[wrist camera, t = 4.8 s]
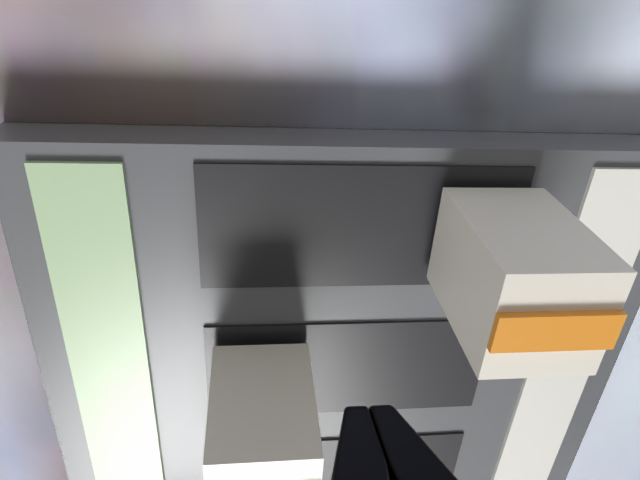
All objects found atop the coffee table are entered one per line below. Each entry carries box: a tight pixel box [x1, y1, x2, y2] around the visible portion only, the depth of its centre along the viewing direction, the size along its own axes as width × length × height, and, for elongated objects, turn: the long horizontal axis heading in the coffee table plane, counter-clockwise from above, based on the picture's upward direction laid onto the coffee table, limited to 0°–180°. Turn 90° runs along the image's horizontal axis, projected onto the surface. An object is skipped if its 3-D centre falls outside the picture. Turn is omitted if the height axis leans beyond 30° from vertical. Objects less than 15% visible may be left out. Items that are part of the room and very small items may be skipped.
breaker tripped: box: [427, 187, 638, 380], centre depth 14 cm, size 3×3×5 cm
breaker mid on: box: [203, 343, 324, 480], centre depth 16 cm, size 3×3×5 cm
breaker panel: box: [0, 122, 640, 480], centre depth 19 cm, size 20×16×2 cm
